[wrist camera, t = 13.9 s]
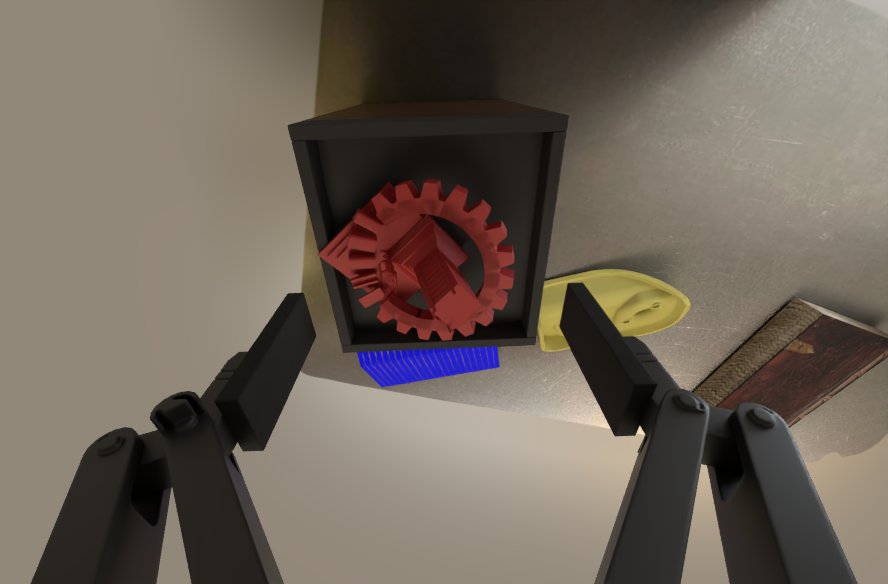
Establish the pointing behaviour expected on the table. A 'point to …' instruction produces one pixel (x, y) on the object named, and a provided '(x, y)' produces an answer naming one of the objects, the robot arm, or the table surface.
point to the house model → (425, 363)
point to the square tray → (453, 163)
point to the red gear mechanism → (423, 258)
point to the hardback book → (796, 362)
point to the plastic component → (613, 304)
